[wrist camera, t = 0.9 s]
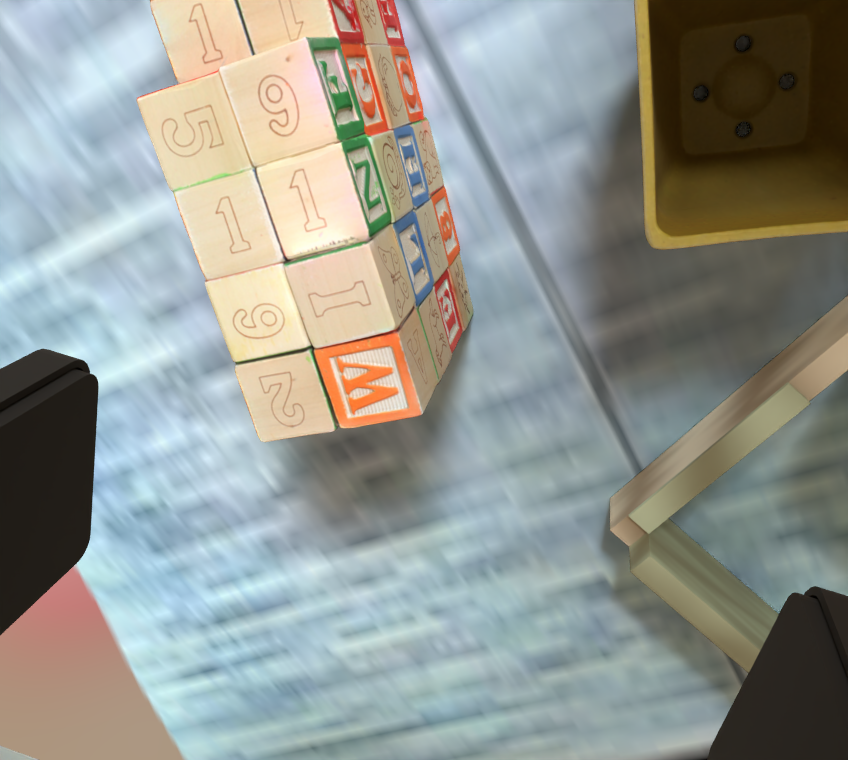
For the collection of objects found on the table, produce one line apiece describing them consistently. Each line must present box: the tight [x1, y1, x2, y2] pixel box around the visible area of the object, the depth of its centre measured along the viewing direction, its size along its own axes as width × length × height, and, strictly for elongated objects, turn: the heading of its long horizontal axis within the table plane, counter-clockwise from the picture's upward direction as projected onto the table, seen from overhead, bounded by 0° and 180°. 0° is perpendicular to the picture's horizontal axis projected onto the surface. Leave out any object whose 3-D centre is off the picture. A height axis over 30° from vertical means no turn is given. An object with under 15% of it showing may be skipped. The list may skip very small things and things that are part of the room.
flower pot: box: [634, 0, 848, 250], centre depth 28 cm, size 9×9×9 cm
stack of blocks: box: [137, 0, 473, 442], centre depth 30 cm, size 21×6×12 cm, turn 16°
